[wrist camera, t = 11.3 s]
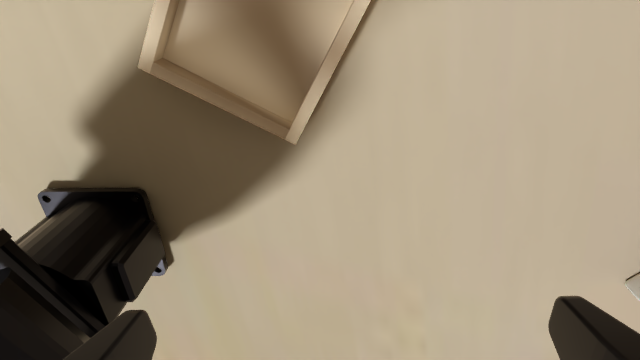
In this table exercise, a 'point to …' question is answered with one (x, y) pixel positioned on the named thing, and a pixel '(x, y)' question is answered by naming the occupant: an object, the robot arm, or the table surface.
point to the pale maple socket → (252, 54)
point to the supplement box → (634, 285)
